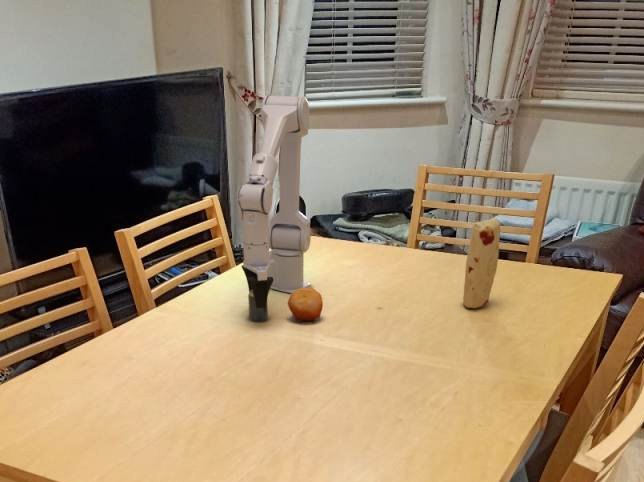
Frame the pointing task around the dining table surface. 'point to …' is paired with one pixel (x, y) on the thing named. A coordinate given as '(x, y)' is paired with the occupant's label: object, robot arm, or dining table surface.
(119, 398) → the dining table surface
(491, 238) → the food model
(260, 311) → the salt shaker
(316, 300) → the fruit
